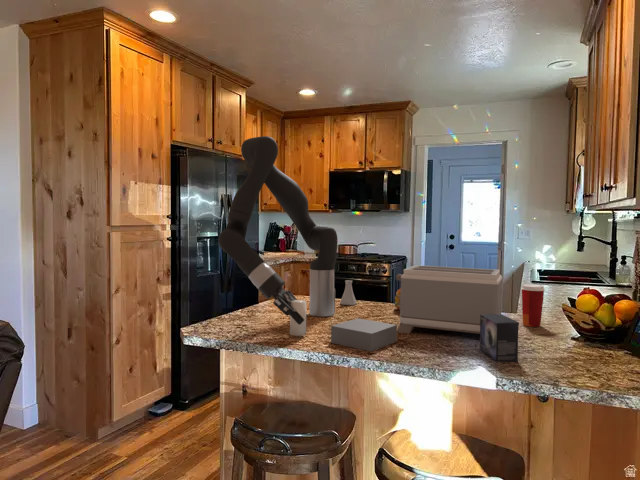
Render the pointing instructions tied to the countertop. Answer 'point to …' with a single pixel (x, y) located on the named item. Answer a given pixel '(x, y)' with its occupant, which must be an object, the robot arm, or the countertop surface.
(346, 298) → the flask
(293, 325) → the beige piece
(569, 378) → the countertop surface
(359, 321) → the plinth
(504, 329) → the small box
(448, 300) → the toaster
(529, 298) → the paper cup
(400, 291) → the burger
